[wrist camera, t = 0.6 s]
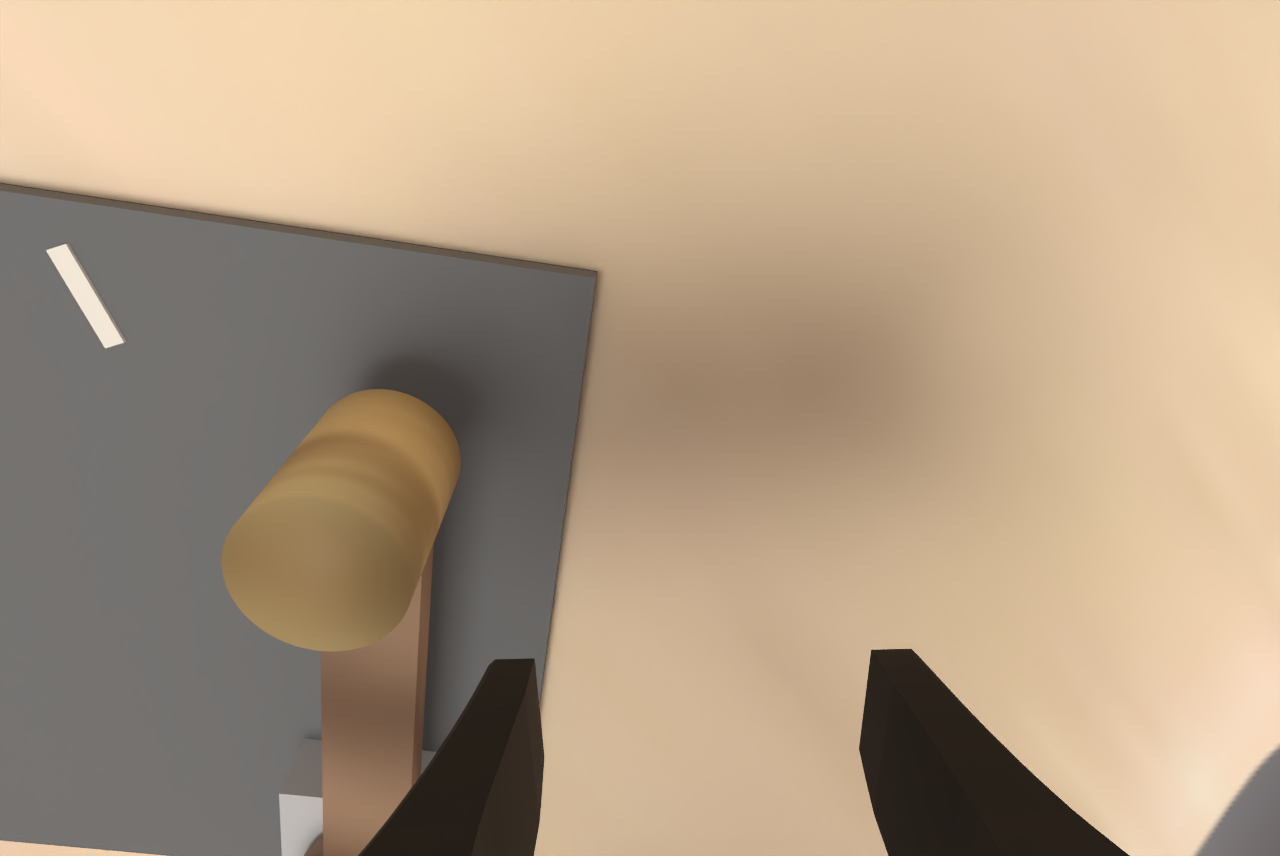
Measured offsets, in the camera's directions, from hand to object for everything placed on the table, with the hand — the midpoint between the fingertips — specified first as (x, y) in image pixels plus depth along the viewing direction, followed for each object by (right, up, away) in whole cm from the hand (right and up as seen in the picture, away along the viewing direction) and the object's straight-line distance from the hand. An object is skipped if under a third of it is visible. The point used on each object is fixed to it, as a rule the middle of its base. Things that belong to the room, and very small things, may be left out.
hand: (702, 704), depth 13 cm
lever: (-8, -3, +9) cm, 12 cm away
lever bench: (-13, 0, +10) cm, 17 cm away
